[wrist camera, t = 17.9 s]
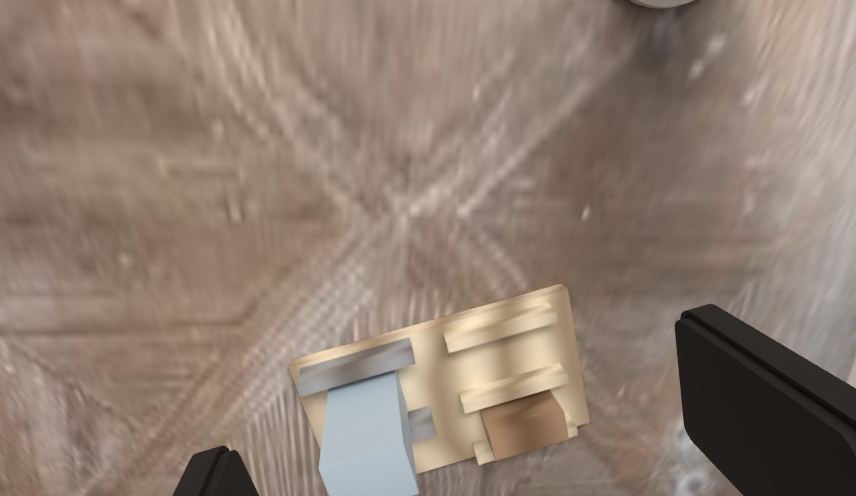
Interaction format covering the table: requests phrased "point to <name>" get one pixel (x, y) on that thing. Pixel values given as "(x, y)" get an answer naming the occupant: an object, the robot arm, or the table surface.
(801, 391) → the robot arm
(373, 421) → the light blue block
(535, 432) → the offcut
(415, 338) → the rack
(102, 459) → the table surface
